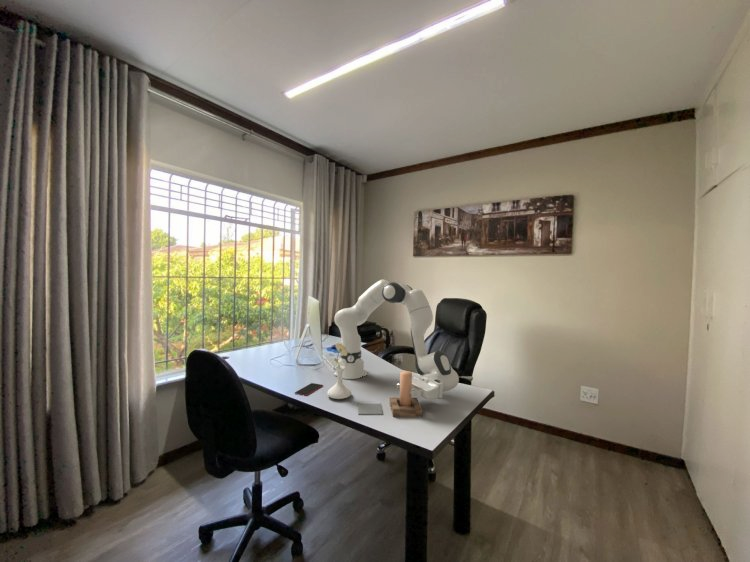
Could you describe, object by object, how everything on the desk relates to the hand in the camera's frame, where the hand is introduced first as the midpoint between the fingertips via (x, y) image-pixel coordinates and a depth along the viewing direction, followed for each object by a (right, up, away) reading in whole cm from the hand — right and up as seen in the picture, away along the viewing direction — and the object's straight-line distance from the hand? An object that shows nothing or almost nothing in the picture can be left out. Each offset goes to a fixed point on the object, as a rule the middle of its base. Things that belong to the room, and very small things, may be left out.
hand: (404, 389), depth 128 cm
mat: (-15, -9, 0) cm, 17 cm away
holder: (0, -9, 0) cm, 9 cm away
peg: (0, -9, 0) cm, 9 cm away
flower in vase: (-30, -8, +14) cm, 34 cm away
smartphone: (-45, -8, +21) cm, 51 cm away
